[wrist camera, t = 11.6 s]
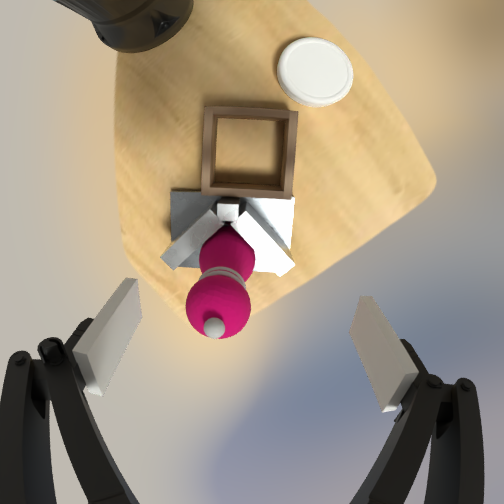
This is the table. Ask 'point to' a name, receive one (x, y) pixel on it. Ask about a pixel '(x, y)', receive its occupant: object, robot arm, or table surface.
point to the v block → (240, 218)
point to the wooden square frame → (241, 189)
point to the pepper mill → (222, 285)
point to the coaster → (314, 72)
